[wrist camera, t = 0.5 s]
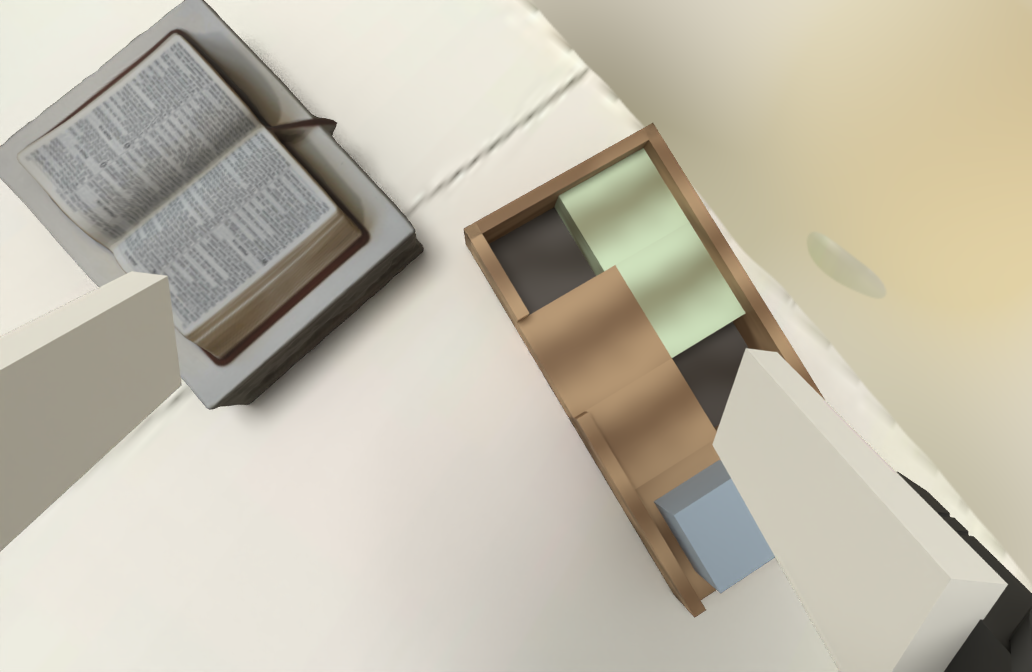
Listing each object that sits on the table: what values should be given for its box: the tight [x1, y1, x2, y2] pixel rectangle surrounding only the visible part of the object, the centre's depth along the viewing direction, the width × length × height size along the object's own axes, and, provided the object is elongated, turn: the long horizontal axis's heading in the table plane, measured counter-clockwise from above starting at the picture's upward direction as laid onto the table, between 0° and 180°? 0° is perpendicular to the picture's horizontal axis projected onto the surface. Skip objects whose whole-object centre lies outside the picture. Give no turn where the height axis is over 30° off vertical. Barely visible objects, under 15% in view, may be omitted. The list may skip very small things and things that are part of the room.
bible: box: [0, 0, 423, 409], centre depth 41 cm, size 23×27×10 cm
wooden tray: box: [464, 123, 825, 617], centre depth 44 cm, size 33×17×4 cm, turn 31°
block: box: [654, 460, 775, 593], centre depth 40 cm, size 6×6×4 cm
